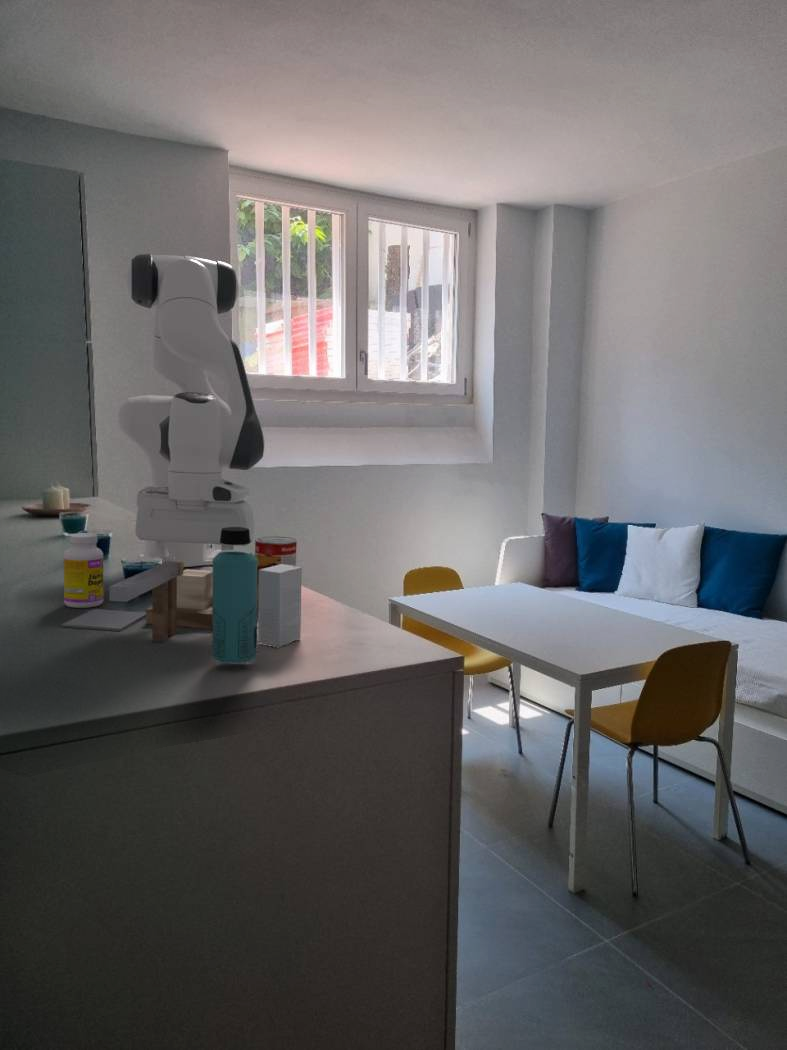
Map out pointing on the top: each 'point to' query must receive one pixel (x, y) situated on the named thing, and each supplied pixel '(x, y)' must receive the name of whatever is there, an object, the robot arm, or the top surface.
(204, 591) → the birch block
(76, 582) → the supplement bottle
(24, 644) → the top surface
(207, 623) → the holder
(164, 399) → the robot arm
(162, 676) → the top surface
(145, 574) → the grey sliding bar
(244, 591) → the beverage bottle
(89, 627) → the mat
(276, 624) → the skincare box
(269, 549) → the canned food
